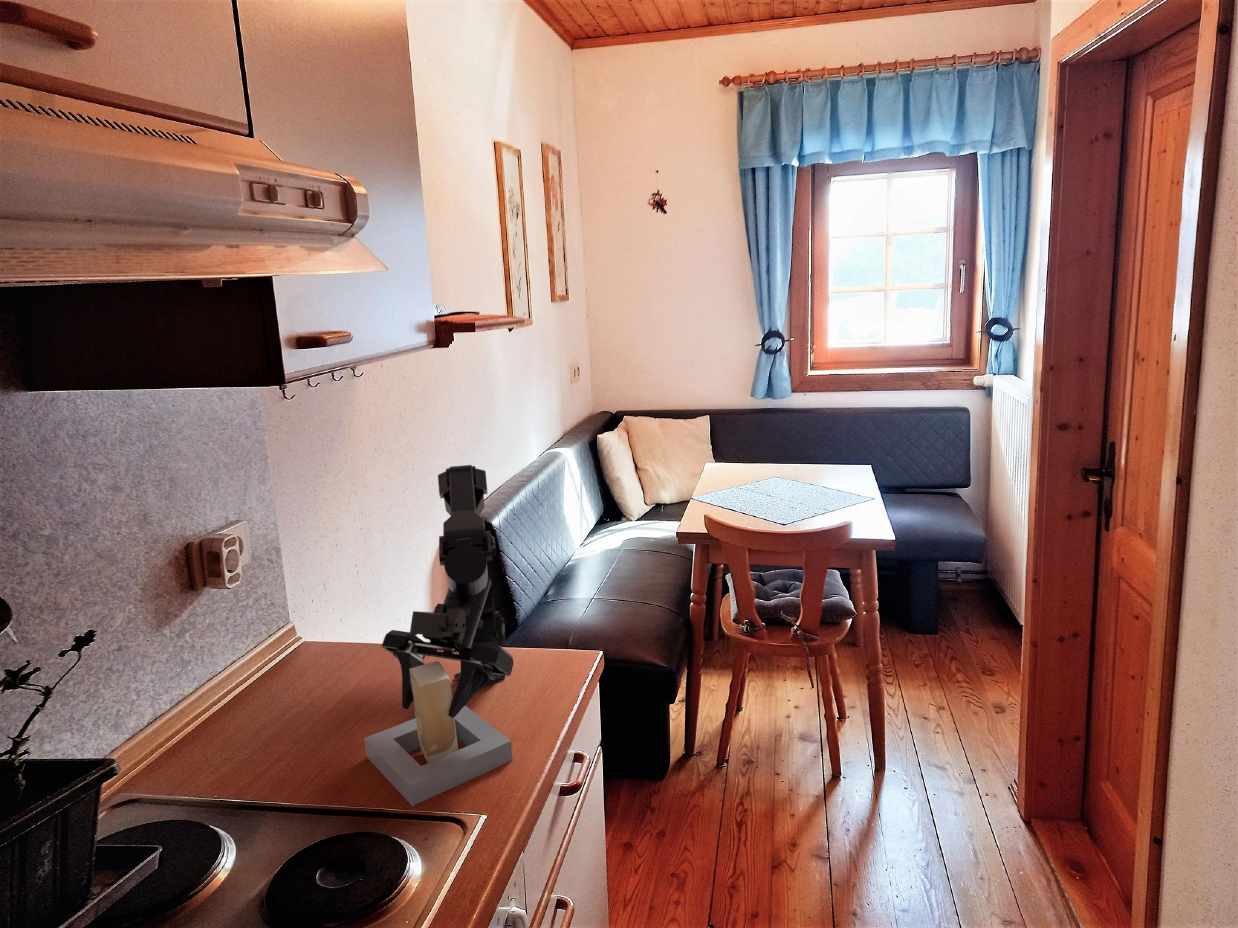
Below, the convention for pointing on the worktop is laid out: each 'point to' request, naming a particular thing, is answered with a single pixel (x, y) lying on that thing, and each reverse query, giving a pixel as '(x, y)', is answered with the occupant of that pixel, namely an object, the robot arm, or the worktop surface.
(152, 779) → the worktop surface
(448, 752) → the skincare box
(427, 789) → the plate
